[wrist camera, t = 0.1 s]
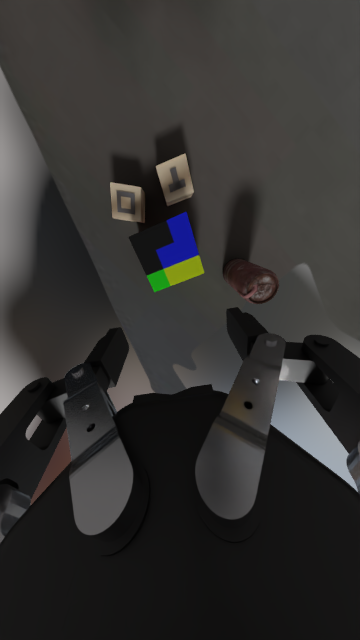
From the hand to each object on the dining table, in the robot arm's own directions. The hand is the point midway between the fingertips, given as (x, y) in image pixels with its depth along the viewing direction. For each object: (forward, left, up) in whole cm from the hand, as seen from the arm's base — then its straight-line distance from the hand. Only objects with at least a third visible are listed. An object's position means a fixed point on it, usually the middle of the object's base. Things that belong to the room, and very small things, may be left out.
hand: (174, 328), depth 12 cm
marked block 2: (-14, +3, -29) cm, 32 cm away
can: (+4, +15, -29) cm, 33 cm away
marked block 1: (-12, -6, -29) cm, 32 cm away
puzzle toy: (-3, 0, -29) cm, 30 cm away
